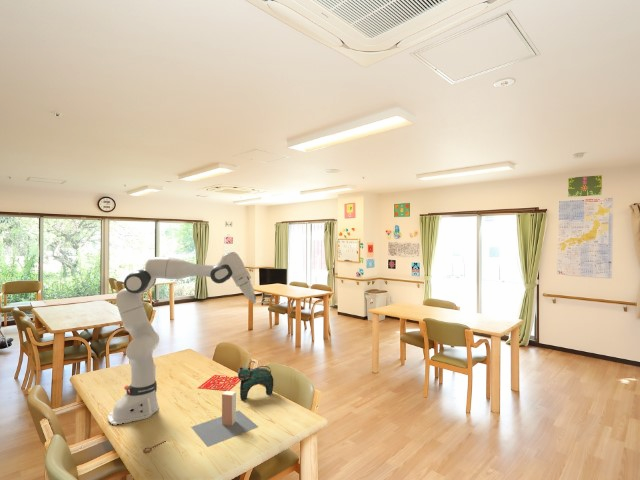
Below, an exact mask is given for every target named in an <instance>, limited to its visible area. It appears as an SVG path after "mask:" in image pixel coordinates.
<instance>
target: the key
mask: <svg viewBox="0 0 640 480" xmlns="http://www.w3.org/2000/svg"><path fill="white" fill-rule="evenodd" d="M166 441H167V440H164V441H161V442H159V443H157V444H154V445H153V446H151V447H148V449H150V450H147V449H146V448H147V447H146V448H144V449H145V450H144V449H142V452H143V453H144V452H145V454H147V453H150V451H151V452H152V451H153V449H154V447H155V448H156V446H157V447H158V445H159V446H161V445H163V444H165V443H166ZM164 442H165V443H164ZM162 443H163V444H162ZM160 444H161V445H160ZM152 448H153V449H152ZM146 450H147V451H146Z"/></svg>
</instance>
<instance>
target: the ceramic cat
mask: <svg viewBox="0 0 640 480" xmlns="http://www.w3.org/2000/svg"><path fill="white" fill-rule="evenodd" d="M251 363H254V364H256V361H252V360H251V361H250V362H249V363H248V365H250V364H251ZM271 372H272V370H271V368H270V367H269V366H268V365H261V366H257V367H255V368H251V367H250V366H248V367H247V366H241V367H239V369H238V371H237V377H238V378H239V379H238V378H237V379H238V380H240V387H239V390H240V391H239V398H240V401H246V400H247V399H248V394H249V391H250V390H251V388H252V387H255V386H256V385H257V386H258V385H263V386H264V387H265V394H266V396H270V395H273V392H274V391H273V390H274V377H273V375H272V373H271Z"/></svg>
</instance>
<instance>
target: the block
mask: <svg viewBox="0 0 640 480" xmlns="http://www.w3.org/2000/svg"><path fill="white" fill-rule="evenodd" d="M236 397H237V392H236V391H233V390H232V391H231V390H230V391H224V392H223V393H221V416H222V424H223V425H229V426H232V425H233V424H234V423H235V422H236V411H237V398H236Z"/></svg>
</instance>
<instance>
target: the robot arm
mask: <svg viewBox="0 0 640 480" xmlns="http://www.w3.org/2000/svg"><path fill="white" fill-rule="evenodd" d="M196 276H199V277H208V278H210V279H211V281H212V282H213V283H215V284H224V283H226V281H229V280H230V279H231V278H232V280H233V282H234V283H235V286H236V287H239V289H240V291H241V293H242V294H243V295H244V297H245V298H246V299H249V300H250V301H251V303H252V304H253V305H255V304H256V303H257V297H256V294H255V293H254V291H255V289H254V287H253V284H252V283H251V282H252V281H251V279H252V276H251V274H250V272H249V271H248V270H247V268H246V267H245V264H244V262H243V260H242V258H241V257H240V255H239V254H238V253H237V252H235V251H232V252H228V253H224V254H223V255H221V258H220V260H219V261H218V263H217V264H216V265H207V264H199V263H193V262H190V261H186V260H183V259H180V258H175V257H167V256H166V257H165V256H155V257H150V258H148V259H147V261H146V263H145V265H144V268H142V269H138V270H136V271H132V272H131V273H129V274H128V275H127V276H126V277H125V279H124V281H123V285H124V288H122V289H121V290H119V291H118V292H117V293H116V304H117V305H116V306H117V309H118V313H119V316H120V318H121V321H122V325H123V327H124V329H125V330H126V331H127V332H128V334H129V335H130V337H131V338H132V340H131V341H130V342H129V343H128V345H127V346H126V350H125V357H127V359H128V361H129V366H130V375H131V377H130V380H131V381H130V382H131V384H130V385H128V384H125V385H124V387H123V388H124V389H125V391H126V393H125V394H124V395H123V396H122V397H121V398H120V399H118V400H117V401H116V402H115V404H114V406H113V411H111V412H110V413H109V414H108V415H107V421H109V422H110V423H111V424H110V423H109V422H108V423H109V424H110V425H112V424H113V426H118V425H117V424H119V425H123V424H122V423H124V424H126V423H127V424H128V423H132V421H133V422H137V421H142V420H145V419H150V418H151V417H152V415H153V414H155V413H156V412H157V411H159V409H160V405H159V402H158V398H157V390H158V389H157V387H158V386H157V384H158V383H157V379H156V377H157V376H156V375H157V374H156V366H157V365H156V364H155V362H154V357H153V353H154V350H155V349H156V348H157V347H158V345H159V342H160V335H159V334H158V333H157V332H156V330H155V329H154V327H153V325H152V324H151V322H150V320H149V318H148V315H147V312H146V309H145V306H144V303H143V300H142V294H143V293H146V292H147V291H149V290H150V289H152V288H153V286H155V284H156V282H157V279H166V280H182V279H185V278H188V277H189V278H190V277H196Z"/></svg>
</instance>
